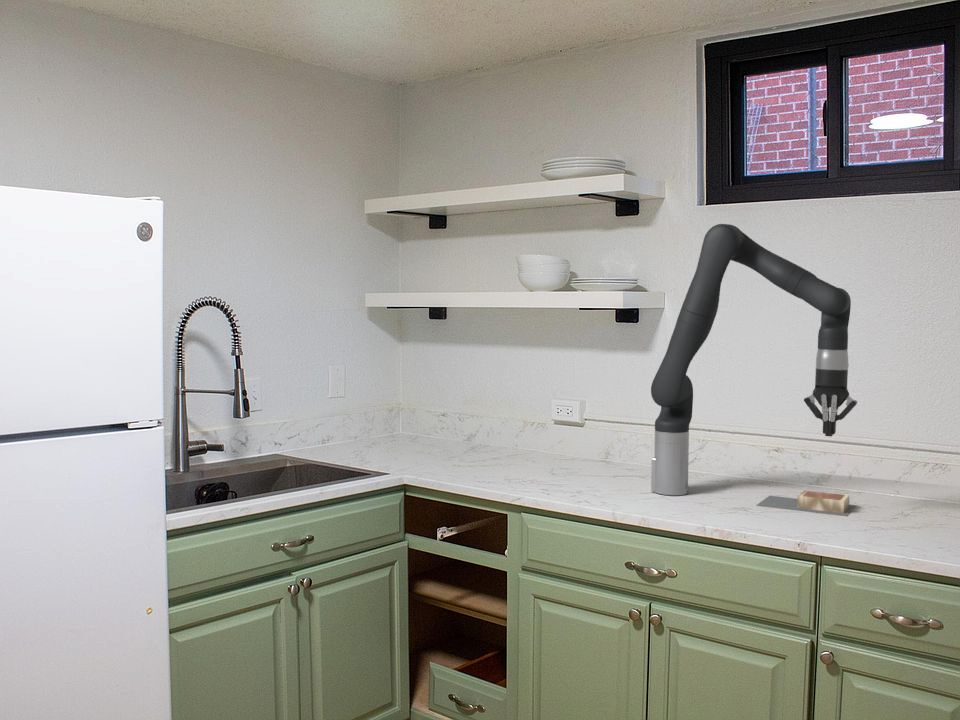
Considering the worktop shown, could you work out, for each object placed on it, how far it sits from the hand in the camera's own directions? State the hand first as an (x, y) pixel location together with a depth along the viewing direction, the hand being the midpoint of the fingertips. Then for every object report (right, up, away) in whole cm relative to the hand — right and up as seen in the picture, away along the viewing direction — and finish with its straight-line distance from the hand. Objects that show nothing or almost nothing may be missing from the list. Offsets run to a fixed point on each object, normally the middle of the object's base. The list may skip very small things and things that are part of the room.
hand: (829, 435), depth 228 cm
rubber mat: (-4, -19, +4) cm, 20 cm away
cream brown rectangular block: (-6, -17, +4) cm, 18 cm away
